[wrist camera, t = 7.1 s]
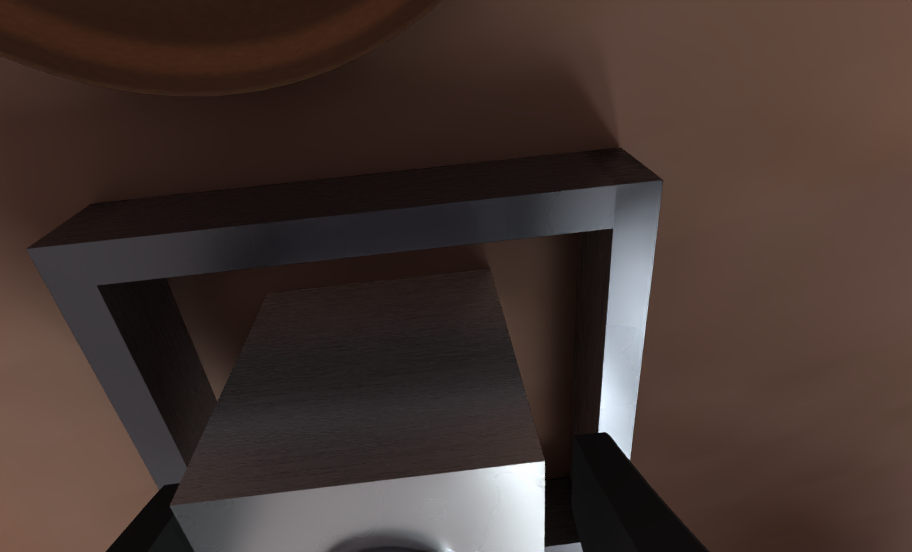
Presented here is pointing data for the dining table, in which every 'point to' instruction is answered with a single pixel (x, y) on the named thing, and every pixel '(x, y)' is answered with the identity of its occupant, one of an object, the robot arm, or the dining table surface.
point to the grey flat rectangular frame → (343, 236)
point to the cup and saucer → (198, 40)
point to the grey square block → (371, 427)
